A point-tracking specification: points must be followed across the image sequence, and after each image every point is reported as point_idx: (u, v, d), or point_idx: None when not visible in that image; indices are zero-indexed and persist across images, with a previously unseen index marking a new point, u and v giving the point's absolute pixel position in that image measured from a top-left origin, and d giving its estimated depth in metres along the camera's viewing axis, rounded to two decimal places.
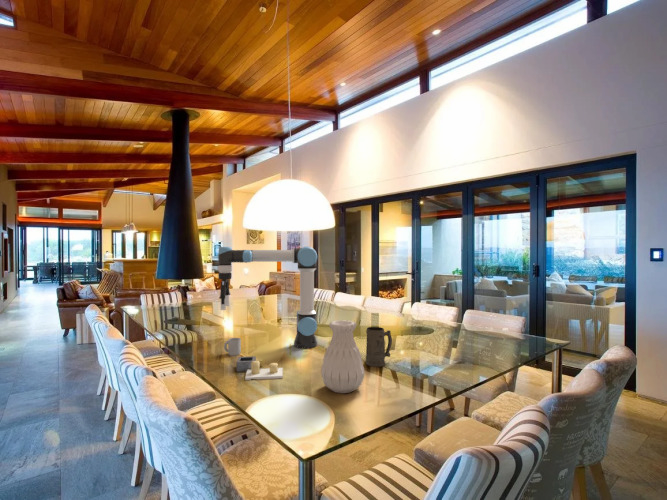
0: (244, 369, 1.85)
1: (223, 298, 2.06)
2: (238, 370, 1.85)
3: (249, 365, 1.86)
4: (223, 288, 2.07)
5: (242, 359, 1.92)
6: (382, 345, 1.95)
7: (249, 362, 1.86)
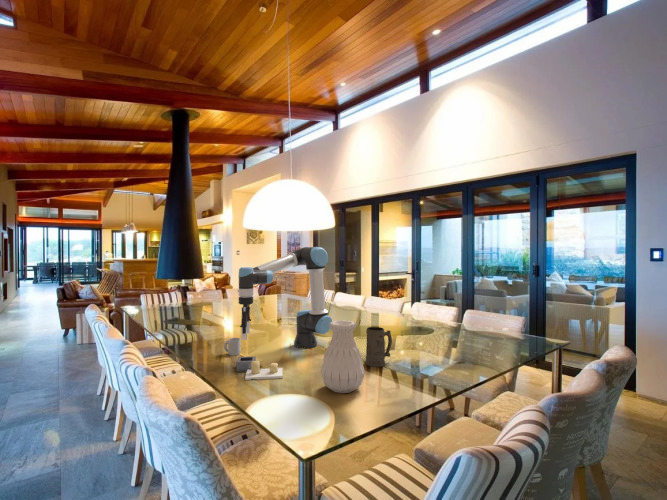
0: (244, 369, 1.85)
1: (244, 327, 1.82)
2: (238, 370, 1.85)
3: (249, 365, 1.86)
4: (244, 315, 1.82)
5: (242, 359, 1.92)
6: (382, 345, 1.95)
7: (249, 362, 1.86)
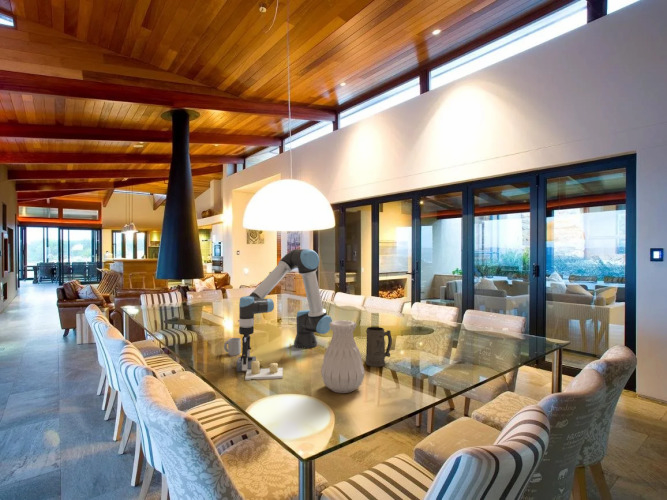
0: None
1: (245, 358, 1.81)
2: (238, 370, 1.85)
3: (249, 365, 1.86)
4: (245, 346, 1.82)
5: None
6: (382, 345, 1.95)
7: (249, 362, 1.86)
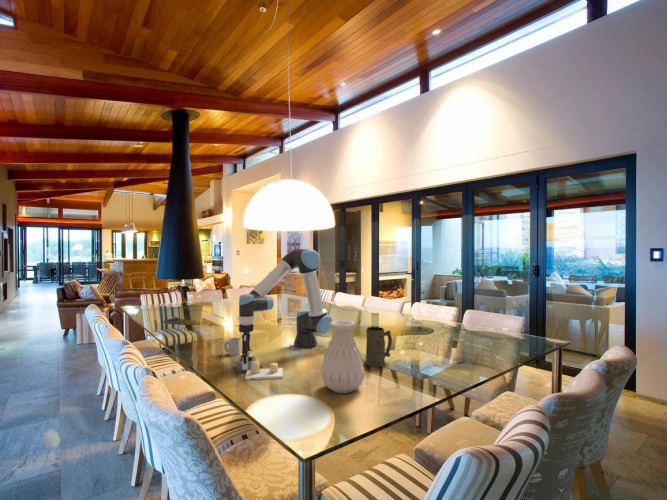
0: None
1: (245, 357, 1.83)
2: (238, 370, 1.84)
3: (249, 365, 1.85)
4: (245, 345, 1.82)
5: None
6: (382, 345, 1.95)
7: (249, 362, 1.85)
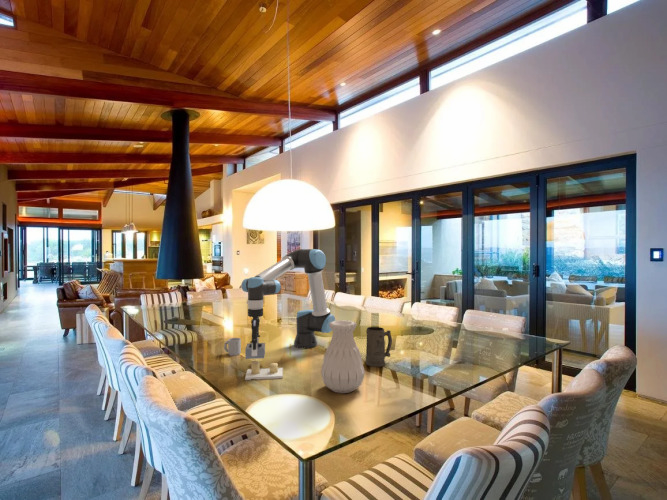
0: (253, 356, 1.75)
1: (255, 342, 1.73)
2: (247, 357, 1.75)
3: (258, 352, 1.75)
4: (255, 330, 1.73)
5: (251, 346, 1.82)
6: (382, 345, 1.95)
7: (258, 349, 1.75)
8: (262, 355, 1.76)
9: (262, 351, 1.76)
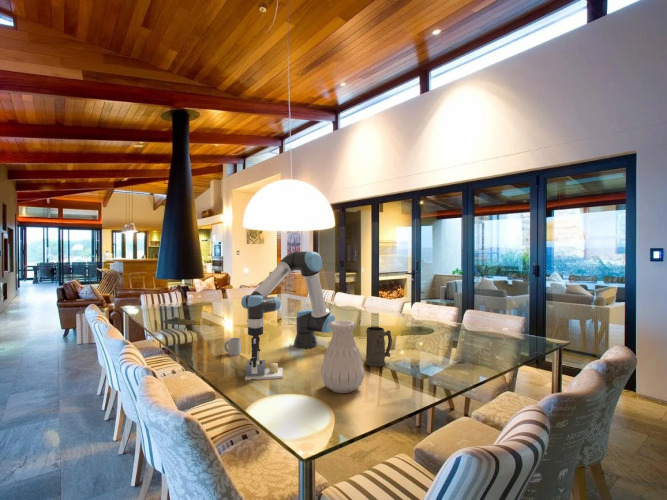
0: (253, 374, 1.75)
1: (255, 360, 1.71)
2: (247, 375, 1.75)
3: (259, 369, 1.76)
4: (255, 348, 1.72)
5: None
6: (382, 345, 1.95)
7: (259, 366, 1.76)
8: (262, 372, 1.76)
9: (262, 368, 1.76)
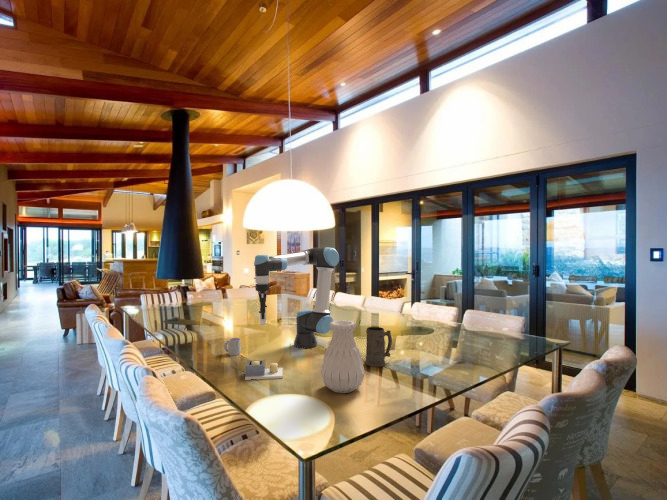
0: (253, 374, 1.75)
1: (263, 312, 1.87)
2: (247, 375, 1.75)
3: (259, 369, 1.76)
4: (263, 301, 1.88)
5: None
6: (382, 345, 1.95)
7: (259, 366, 1.76)
8: (262, 372, 1.76)
9: (262, 368, 1.76)
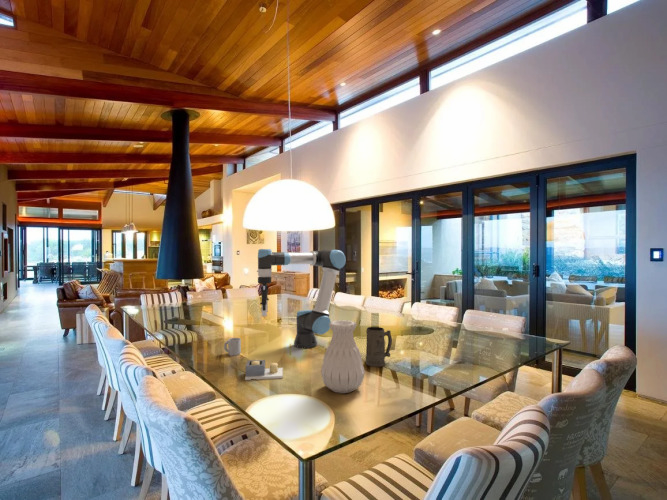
0: (253, 374, 1.75)
1: (264, 304, 1.93)
2: (247, 375, 1.75)
3: (259, 369, 1.76)
4: (264, 293, 1.94)
5: None
6: (382, 345, 1.95)
7: (259, 366, 1.76)
8: (262, 372, 1.76)
9: (262, 368, 1.76)
